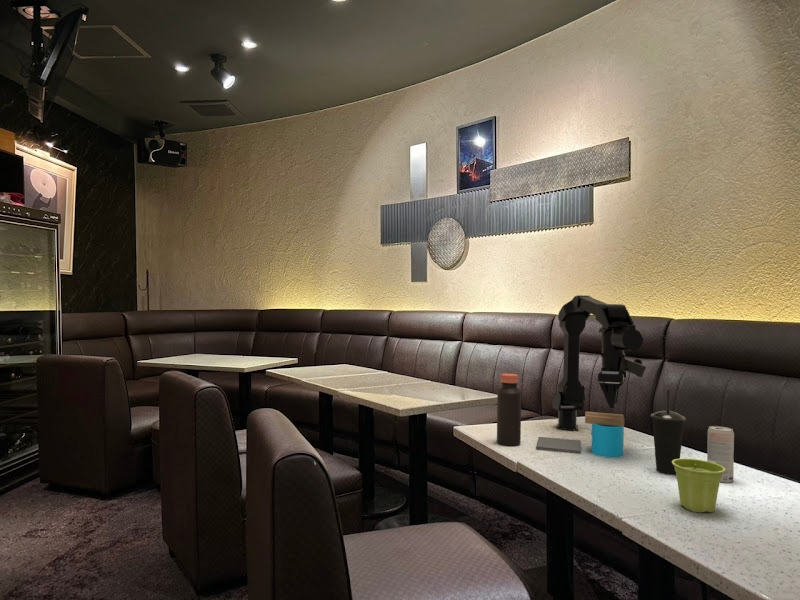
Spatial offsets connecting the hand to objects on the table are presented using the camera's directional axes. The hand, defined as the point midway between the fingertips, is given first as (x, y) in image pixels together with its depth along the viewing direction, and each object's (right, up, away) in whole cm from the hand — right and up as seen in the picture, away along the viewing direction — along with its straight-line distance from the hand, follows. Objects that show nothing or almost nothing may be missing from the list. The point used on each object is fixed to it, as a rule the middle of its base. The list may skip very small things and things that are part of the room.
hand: (613, 405), depth 149 cm
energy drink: (+17, -13, -22) cm, 30 cm away
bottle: (-27, -13, +8) cm, 31 cm away
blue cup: (-2, -13, +1) cm, 13 cm away
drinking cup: (+7, -13, -17) cm, 22 cm away
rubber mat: (-13, -13, +6) cm, 19 cm away
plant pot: (+1, -13, -40) cm, 42 cm away
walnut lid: (-2, -5, +1) cm, 5 cm away
